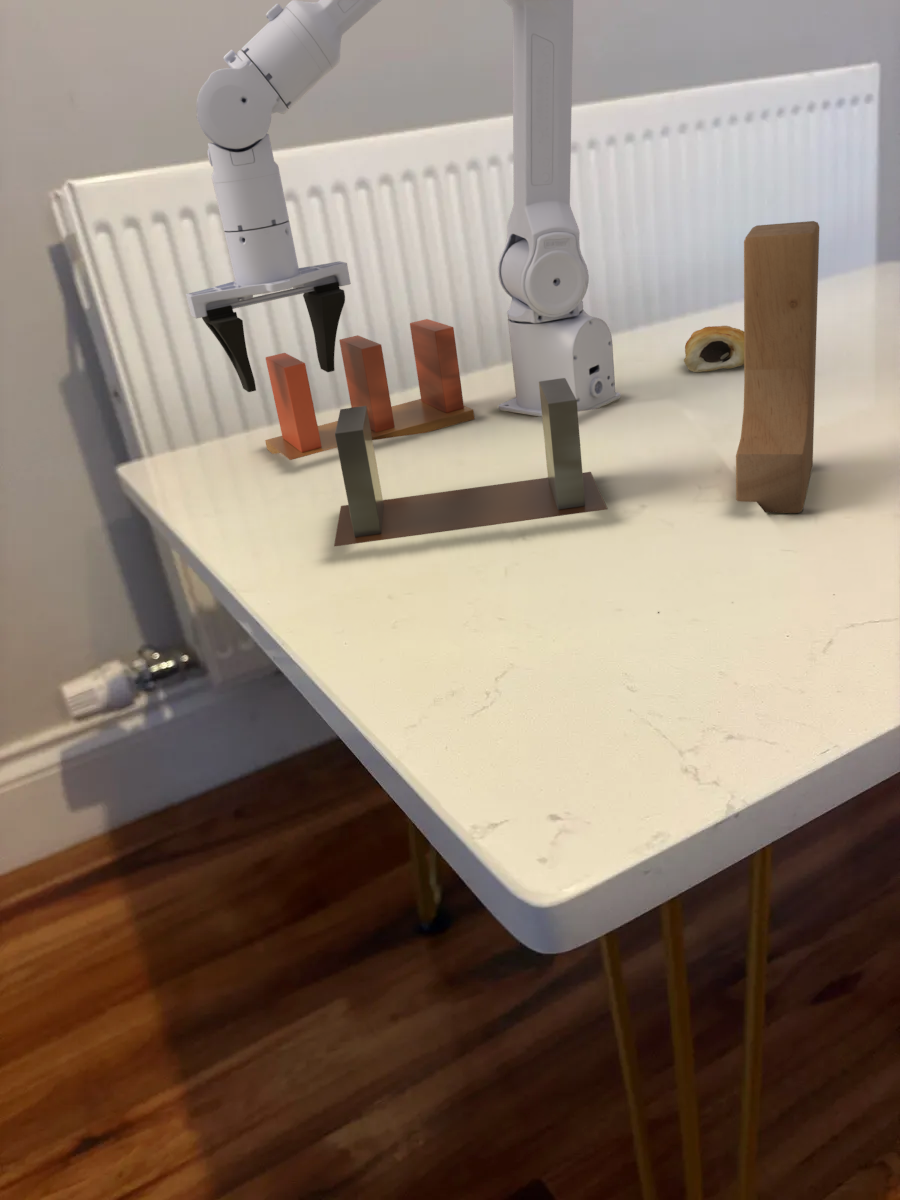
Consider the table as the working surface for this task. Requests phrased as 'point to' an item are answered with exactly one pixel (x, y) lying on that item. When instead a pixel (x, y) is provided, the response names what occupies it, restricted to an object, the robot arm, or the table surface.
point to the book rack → (371, 389)
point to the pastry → (715, 349)
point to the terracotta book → (293, 401)
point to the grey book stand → (473, 505)
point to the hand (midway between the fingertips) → (289, 379)
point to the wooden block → (778, 365)
